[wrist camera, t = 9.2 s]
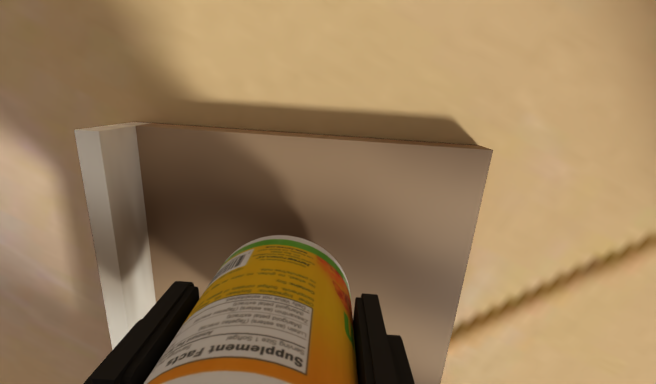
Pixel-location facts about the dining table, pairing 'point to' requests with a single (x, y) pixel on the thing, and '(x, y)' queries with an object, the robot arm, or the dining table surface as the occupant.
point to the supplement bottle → (267, 321)
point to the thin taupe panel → (285, 216)
